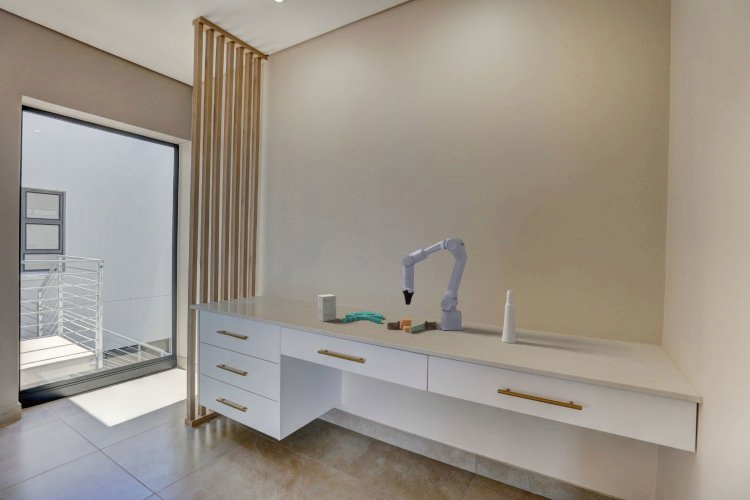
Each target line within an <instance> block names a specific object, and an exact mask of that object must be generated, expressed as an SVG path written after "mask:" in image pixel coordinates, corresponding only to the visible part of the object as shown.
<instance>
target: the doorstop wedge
mask: <svg viewBox="0 0 750 500" xmlns="http://www.w3.org/2000/svg"><path fill="white" fill-rule="evenodd" d="M399 321H400V330H402V331H403V332H404V333H410V332H409V327H411V326H413V325H412V319H411V318H400V320H399Z"/></svg>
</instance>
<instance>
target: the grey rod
mask: <svg viewBox="0 0 750 500" xmlns="http://www.w3.org/2000/svg"><path fill="white" fill-rule="evenodd" d="M423 329H425V322H421V323H418V324H416V325H412V326H411V327H409V332H408V333H410V334H411V333H415V332H417V331H420V330H421V331H422V330H423Z"/></svg>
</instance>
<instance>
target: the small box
mask: <svg viewBox="0 0 750 500" xmlns="http://www.w3.org/2000/svg"><path fill="white" fill-rule="evenodd" d="M316 301H317V312H316V313H317V317H316V319H317V320H318V321H320V320H321V321H320V322H323V321H324V322H329V321H336V320H337V295H335V294H332V293H328V294H318V295H317V300H316Z"/></svg>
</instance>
